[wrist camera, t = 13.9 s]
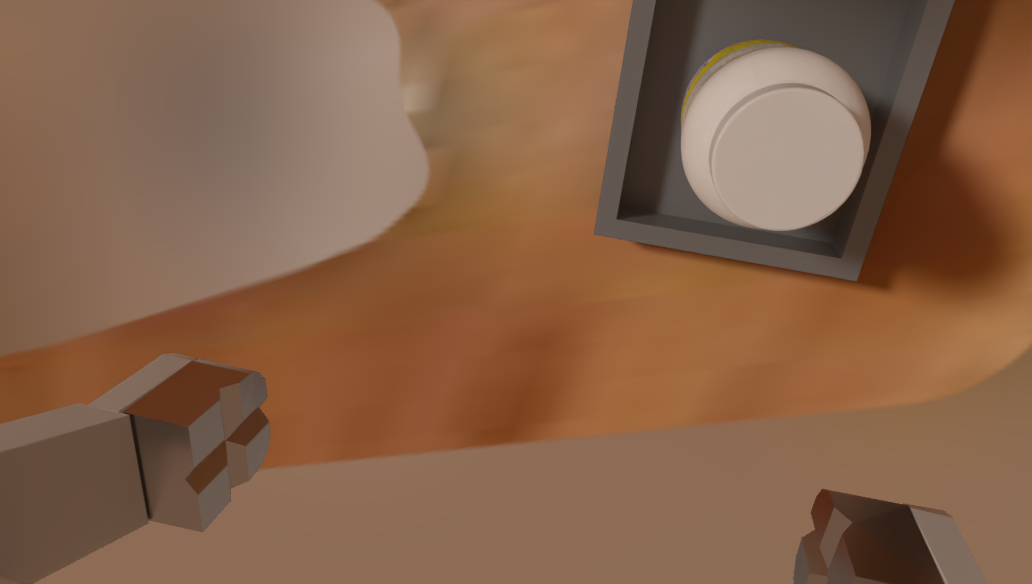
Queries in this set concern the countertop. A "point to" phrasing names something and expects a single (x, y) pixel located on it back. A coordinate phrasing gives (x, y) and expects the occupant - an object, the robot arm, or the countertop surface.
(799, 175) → the supplement bottle
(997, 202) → the countertop surface
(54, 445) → the robot arm
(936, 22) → the tray
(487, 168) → the countertop surface
